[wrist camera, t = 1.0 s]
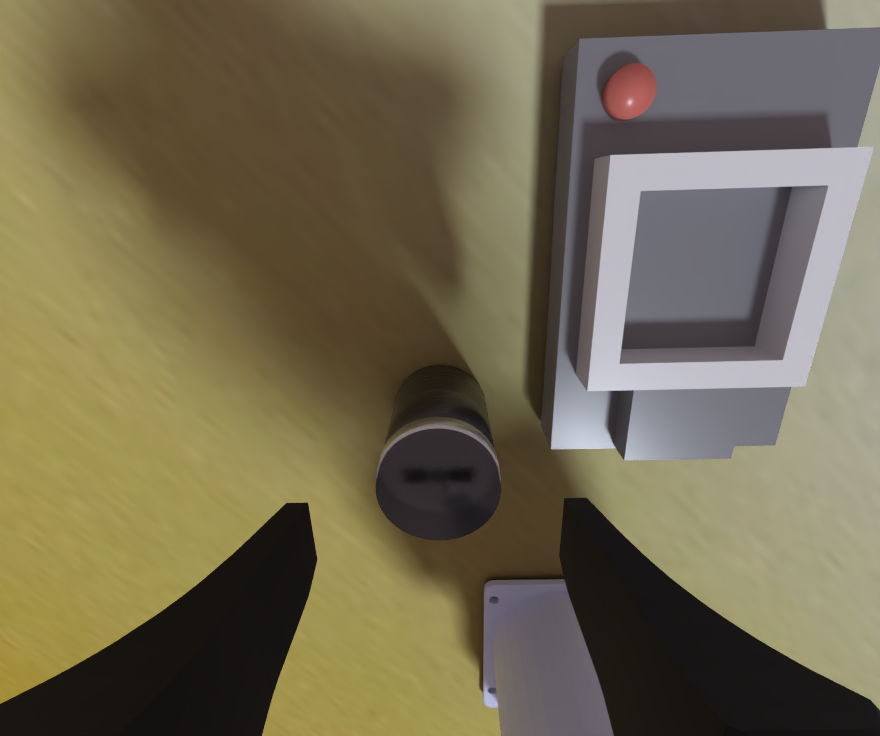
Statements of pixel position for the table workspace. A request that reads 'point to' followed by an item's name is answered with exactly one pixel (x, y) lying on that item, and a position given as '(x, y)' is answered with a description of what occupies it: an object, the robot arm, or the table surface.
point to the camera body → (698, 233)
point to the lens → (439, 457)
